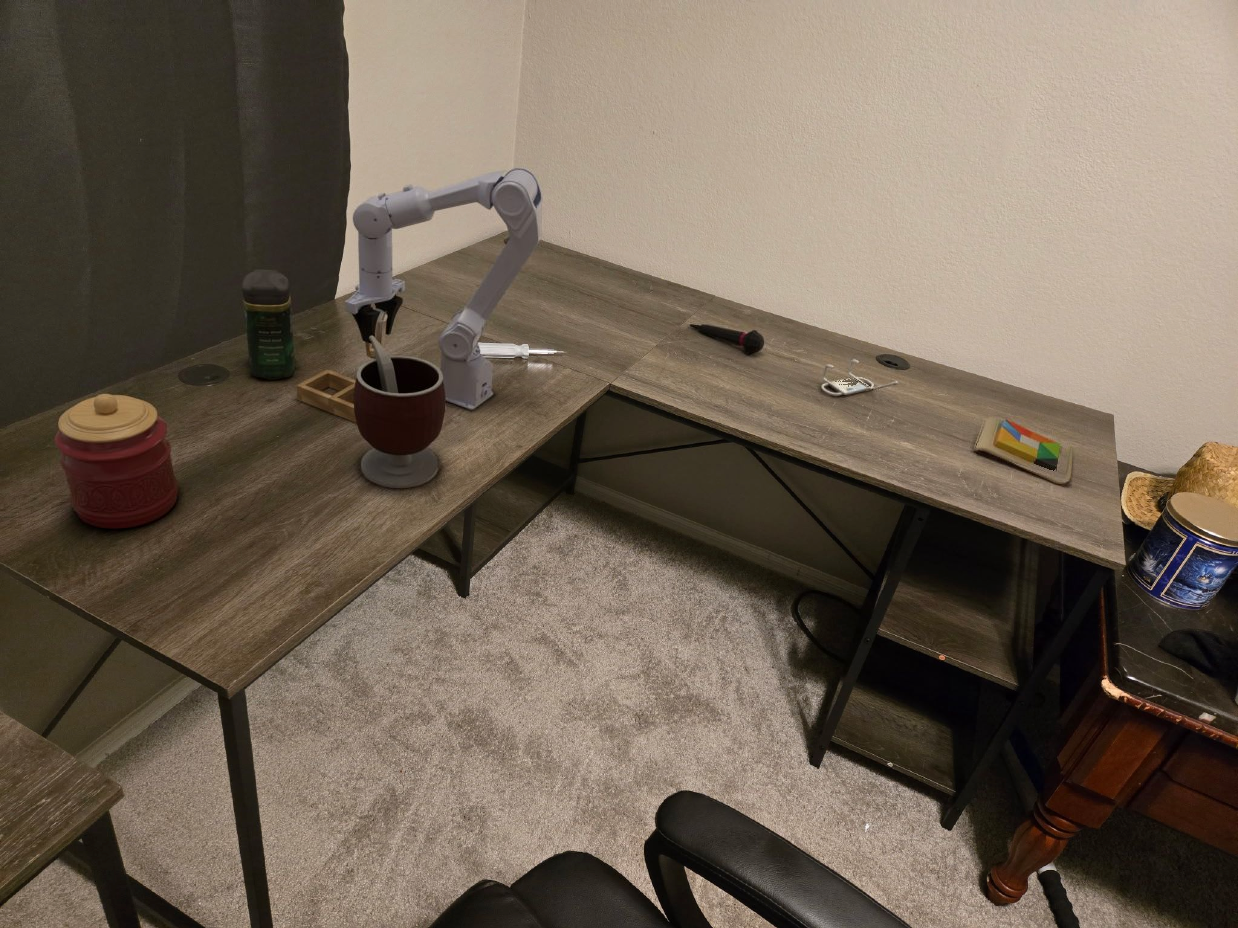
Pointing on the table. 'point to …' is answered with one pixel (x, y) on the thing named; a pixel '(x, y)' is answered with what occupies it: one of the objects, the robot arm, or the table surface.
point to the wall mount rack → (851, 389)
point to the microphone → (734, 337)
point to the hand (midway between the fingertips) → (376, 337)
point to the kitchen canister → (116, 461)
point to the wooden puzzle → (1021, 446)
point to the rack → (333, 404)
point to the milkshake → (378, 333)
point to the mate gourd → (399, 417)
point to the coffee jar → (268, 324)
